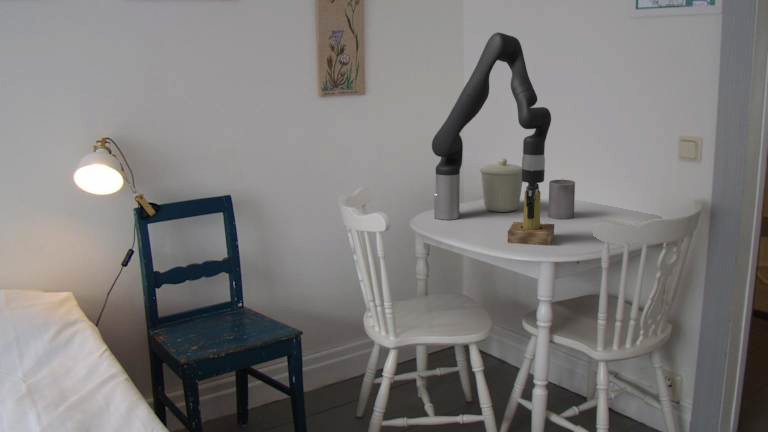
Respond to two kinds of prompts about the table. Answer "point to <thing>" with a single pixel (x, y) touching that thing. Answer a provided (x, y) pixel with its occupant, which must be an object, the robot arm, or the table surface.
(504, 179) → the canister
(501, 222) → the table surface
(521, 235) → the socket block
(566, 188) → the pillar candle
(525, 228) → the vase
